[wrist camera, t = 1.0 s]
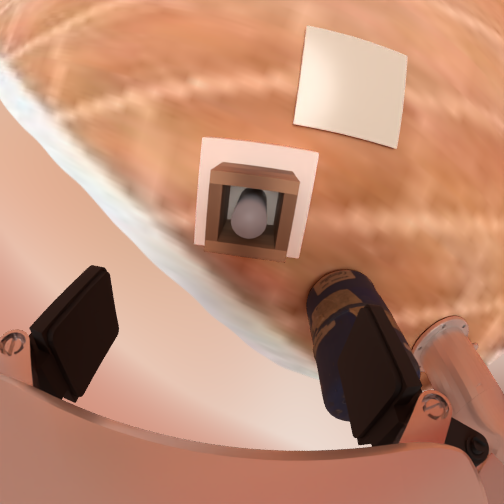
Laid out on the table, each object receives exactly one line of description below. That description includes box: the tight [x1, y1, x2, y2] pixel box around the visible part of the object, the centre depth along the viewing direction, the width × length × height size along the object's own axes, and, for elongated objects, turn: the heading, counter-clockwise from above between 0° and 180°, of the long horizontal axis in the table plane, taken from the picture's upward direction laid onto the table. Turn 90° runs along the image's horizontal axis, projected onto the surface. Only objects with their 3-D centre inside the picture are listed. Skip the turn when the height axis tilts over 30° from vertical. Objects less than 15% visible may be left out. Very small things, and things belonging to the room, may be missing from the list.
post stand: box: [194, 137, 319, 258], centre depth 25 cm, size 11×11×11 cm
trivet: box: [293, 26, 407, 149], centre depth 24 cm, size 12×12×1 cm
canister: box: [307, 270, 420, 422], centre depth 27 cm, size 10×10×18 cm
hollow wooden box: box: [204, 162, 300, 262], centre depth 24 cm, size 7×7×6 cm
